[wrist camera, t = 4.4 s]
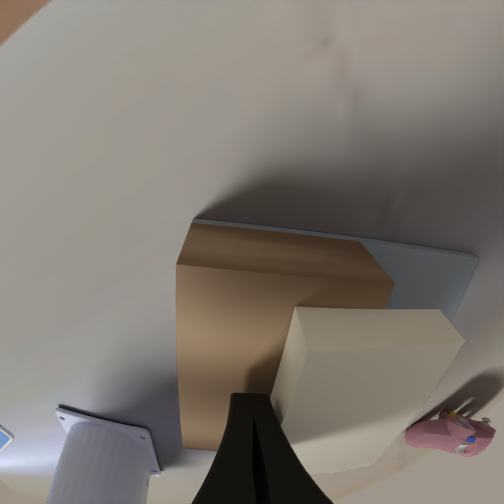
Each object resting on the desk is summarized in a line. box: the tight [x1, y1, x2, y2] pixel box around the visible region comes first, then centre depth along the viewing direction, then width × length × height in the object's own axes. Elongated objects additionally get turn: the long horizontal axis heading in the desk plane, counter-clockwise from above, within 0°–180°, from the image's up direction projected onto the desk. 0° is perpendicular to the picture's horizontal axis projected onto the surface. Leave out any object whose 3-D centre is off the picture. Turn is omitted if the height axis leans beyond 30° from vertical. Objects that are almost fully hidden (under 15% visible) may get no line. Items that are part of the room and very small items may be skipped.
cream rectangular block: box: [270, 306, 465, 475], centre depth 11 cm, size 9×6×2 cm, turn 172°
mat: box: [192, 218, 479, 322], centre depth 16 cm, size 13×15×1 cm
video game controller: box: [405, 412, 496, 457], centre depth 19 cm, size 10×5×7 cm, turn 60°
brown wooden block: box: [176, 223, 395, 451], centre depth 13 cm, size 11×7×4 cm, turn 172°
